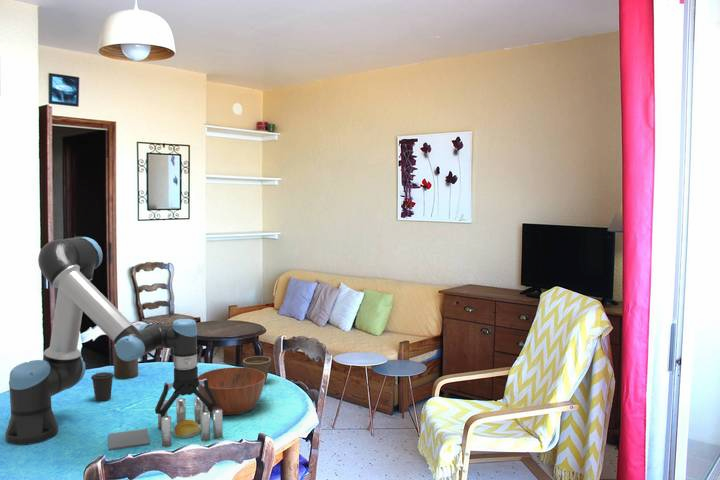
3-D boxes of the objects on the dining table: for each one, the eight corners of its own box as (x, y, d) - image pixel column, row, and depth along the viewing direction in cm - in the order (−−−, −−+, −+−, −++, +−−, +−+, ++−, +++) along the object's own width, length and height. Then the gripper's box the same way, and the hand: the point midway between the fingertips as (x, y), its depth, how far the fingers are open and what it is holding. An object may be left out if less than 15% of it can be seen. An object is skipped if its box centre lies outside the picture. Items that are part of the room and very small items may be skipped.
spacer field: (162, 447, 191) (161, 419, 190) (158, 426, 207) (157, 400, 207) (223, 438, 198) (223, 411, 197) (214, 418, 215) (214, 394, 214)
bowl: (183, 407, 225) (182, 377, 224) (239, 391, 243) (238, 363, 242) (222, 426, 208) (222, 393, 207) (279, 407, 226) (279, 377, 225)
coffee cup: (92, 396, 236) (91, 371, 235) (115, 394, 238) (114, 369, 237) (90, 404, 228) (89, 377, 227) (113, 401, 230) (113, 375, 230)
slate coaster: (108, 450, 189) (108, 448, 189) (108, 435, 200) (108, 433, 200) (149, 444, 193) (149, 442, 193) (147, 430, 204) (147, 428, 204)
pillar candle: (123, 381, 255) (123, 345, 253) (109, 376, 260) (108, 342, 259) (143, 375, 263) (142, 341, 261) (128, 371, 268) (128, 337, 267)
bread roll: (175, 440, 197) (175, 428, 196) (173, 430, 205) (173, 418, 205) (201, 437, 200) (201, 425, 199) (199, 426, 208) (198, 415, 208)
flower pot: (237, 384, 252) (237, 360, 251) (256, 377, 261) (256, 354, 260) (257, 389, 246) (257, 365, 245) (276, 382, 255) (276, 358, 254)
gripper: (146, 374, 192) (148, 440, 194) (225, 365, 201) (226, 428, 203) (145, 367, 199) (147, 431, 201) (221, 359, 208) (222, 420, 210)
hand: (186, 430), depth 202 cm, fingers open, 12 cm apart
